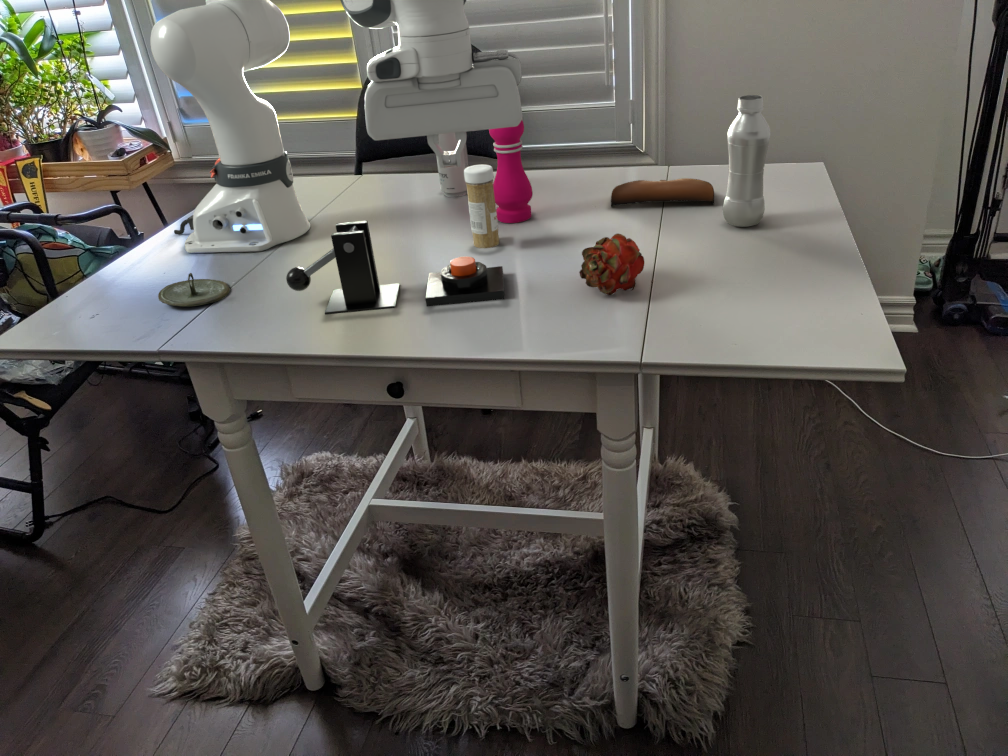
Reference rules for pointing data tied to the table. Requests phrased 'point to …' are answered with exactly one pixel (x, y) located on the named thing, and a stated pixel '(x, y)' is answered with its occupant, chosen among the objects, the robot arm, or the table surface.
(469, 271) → the button
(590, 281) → the dragon fruit
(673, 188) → the sunglasses case
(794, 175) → the table surface
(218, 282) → the metal shank button
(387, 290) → the switch bracket
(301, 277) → the lever
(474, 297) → the button block
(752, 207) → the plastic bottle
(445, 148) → the energy drink can
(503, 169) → the pepper mill
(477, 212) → the spice jar
